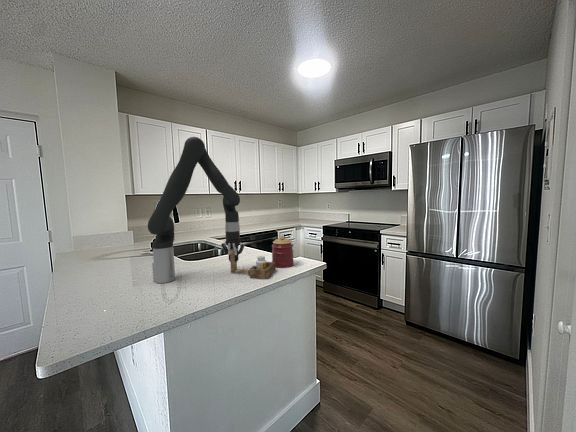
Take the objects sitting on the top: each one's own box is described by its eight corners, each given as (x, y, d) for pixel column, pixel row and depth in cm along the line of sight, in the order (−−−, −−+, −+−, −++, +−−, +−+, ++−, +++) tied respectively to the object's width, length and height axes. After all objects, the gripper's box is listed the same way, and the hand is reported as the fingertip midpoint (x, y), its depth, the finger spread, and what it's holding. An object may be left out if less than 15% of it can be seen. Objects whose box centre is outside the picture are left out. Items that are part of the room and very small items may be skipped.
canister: (284, 260, 157) (283, 233, 155) (298, 264, 147) (297, 235, 145) (267, 265, 148) (266, 236, 147) (281, 269, 138) (280, 238, 137)
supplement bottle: (256, 276, 128) (255, 258, 128) (256, 272, 134) (255, 255, 133) (266, 275, 129) (266, 257, 128) (266, 272, 134) (265, 255, 134)
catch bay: (249, 278, 125) (249, 269, 125) (259, 269, 140) (259, 261, 139) (267, 279, 123) (267, 270, 123) (275, 270, 138) (275, 262, 137)
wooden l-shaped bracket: (228, 274, 131) (227, 250, 130) (235, 269, 139) (234, 247, 138) (251, 275, 128) (251, 251, 127) (257, 271, 136) (256, 248, 135)
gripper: (217, 230, 131) (218, 262, 132) (241, 231, 128) (242, 264, 129) (224, 228, 138) (225, 259, 140) (247, 229, 135) (248, 260, 137)
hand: (233, 261), depth 134 cm, fingers closed on wooden l-shaped bracket, 2 cm apart
